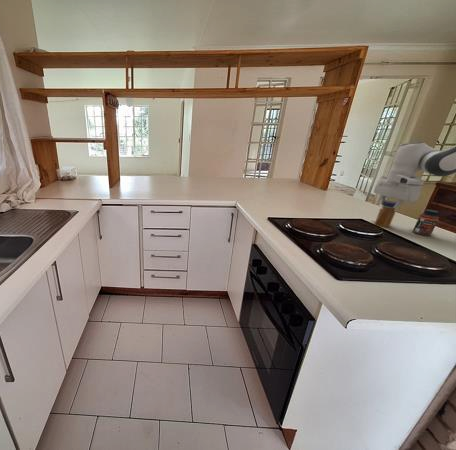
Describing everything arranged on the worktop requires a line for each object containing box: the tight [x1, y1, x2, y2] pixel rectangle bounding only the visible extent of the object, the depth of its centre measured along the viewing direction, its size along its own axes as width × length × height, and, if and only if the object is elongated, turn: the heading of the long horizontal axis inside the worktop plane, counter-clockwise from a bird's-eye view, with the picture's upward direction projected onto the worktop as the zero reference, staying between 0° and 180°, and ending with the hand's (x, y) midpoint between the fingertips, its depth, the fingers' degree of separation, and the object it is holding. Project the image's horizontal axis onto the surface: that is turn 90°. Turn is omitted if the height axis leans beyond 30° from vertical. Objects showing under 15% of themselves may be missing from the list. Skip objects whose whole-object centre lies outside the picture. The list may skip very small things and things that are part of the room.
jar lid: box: [381, 200, 398, 207], centre depth 116 cm, size 6×6×2 cm
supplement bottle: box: [412, 209, 440, 237], centre depth 108 cm, size 6×6×11 cm
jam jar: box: [374, 205, 397, 228], centre depth 118 cm, size 6×6×10 cm
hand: (389, 206), depth 116 cm, fingers closed on jar lid, 6 cm apart
